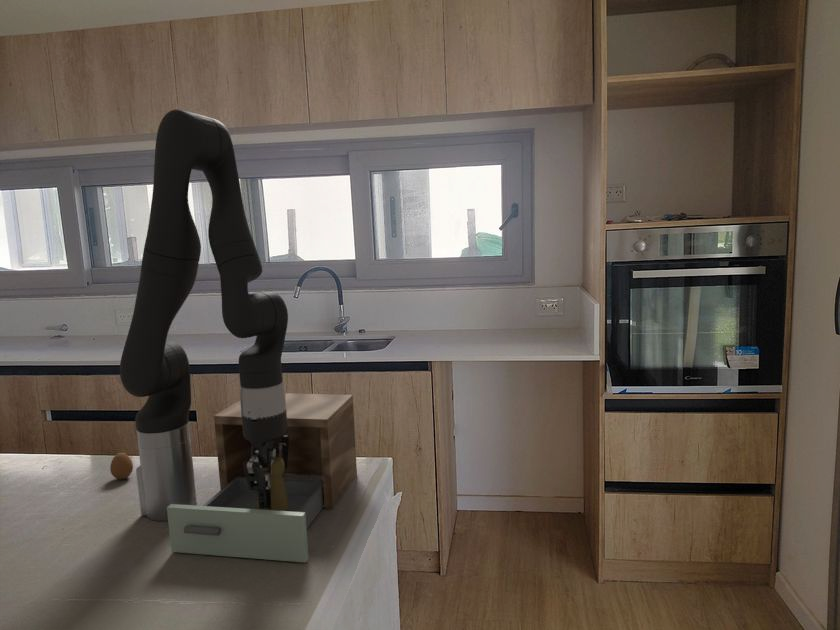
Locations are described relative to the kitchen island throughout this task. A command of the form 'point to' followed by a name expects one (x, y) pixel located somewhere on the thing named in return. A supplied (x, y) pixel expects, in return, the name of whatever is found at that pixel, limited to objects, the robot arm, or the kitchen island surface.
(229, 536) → the drawer
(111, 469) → the egg
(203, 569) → the kitchen island surface
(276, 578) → the kitchen island surface
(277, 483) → the olive tall rounded piece
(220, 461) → the cabinet
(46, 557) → the kitchen island surface
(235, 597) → the kitchen island surface
